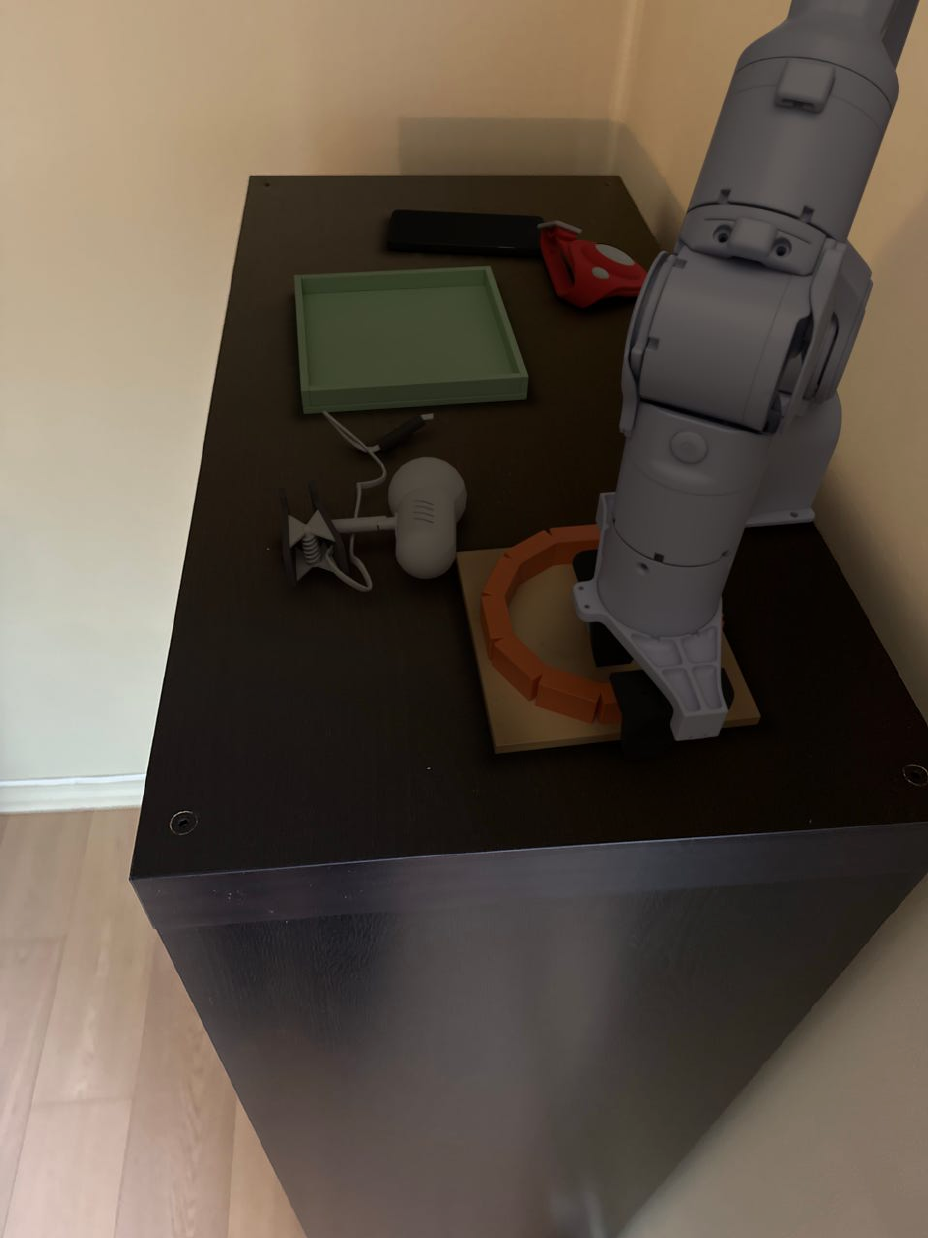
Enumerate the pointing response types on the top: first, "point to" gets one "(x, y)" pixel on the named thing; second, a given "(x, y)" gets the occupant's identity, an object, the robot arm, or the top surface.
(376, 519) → the clip-on lamp
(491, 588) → the ring
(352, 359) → the tray
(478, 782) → the top surface
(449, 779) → the top surface
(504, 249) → the smartphone
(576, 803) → the top surface
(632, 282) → the tracker holder
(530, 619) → the ring stand
